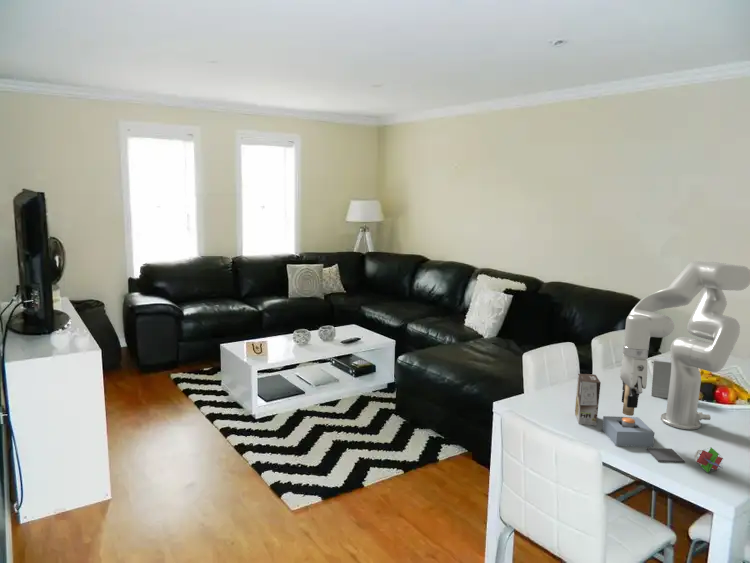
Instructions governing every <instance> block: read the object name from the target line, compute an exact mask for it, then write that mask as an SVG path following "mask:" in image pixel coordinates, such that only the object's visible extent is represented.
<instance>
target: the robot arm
mask: <svg viewBox="0 0 750 563" xmlns="http://www.w3.org/2000/svg"><path fill="white" fill-rule="evenodd" d="M749 286H750V268H748V267H747V266H745V265H738V264H731V263H724V262H714V261H701V260H699V261H697V260H695V261H691V262H689V263H688V264H687V265H686V266H685V267H684V268H683V269H682V270H681V271H680V273H679V274H678V275H677V276H676V277H675V278H674V280H672V281H671V282H670V284H669V285H668V287H666V288H663V289H660V290H658V291H655V292H653V293H650V294H648V295H646V296H645V297H643V298H642V299H640V300H639V301H638V302H637V303H636V304H635V306H634V307H633V308H632V309H631V311H630V312H629V314H628V316H627V317H626V319H625V328H624V329H625V330H624V336H623V337H624V338H623V346H622V354H621V355H622V360H621V364H620V374H619V375H620V376H619V377H620V380H621V381H622V394H621V403H623V404H624V395H625V386H626V384H627V385H628V386H629V387H630V391H629V395H628V400H627V407H628V408H634V409H636V408H638V405H639V404H638V403H639V397H640V395H641V394H643V390H644V389H646V388H647V384H648V356H649V348H650V340H651V338H665V337H668V336H670V335H671V334H672V333H673V331H674V329H675V324H674V320H673V319H672V318H670V317H669V316H667V315H665V314H661V313H657V312H658V311H660V310H664V309H671V308H673V309H674V308H679V307H685V306H688V305H689V304H691V303H692V301H693V300H694V299H695V298H696V297H697V296H698V294H699V293H700V296H699V298H698V299H699V300H698V301H697V304H696V306H695V308H694V310H693V311H692V314H691V316H690V318H689V320H688V322H687V327H686V328H687V331H688V333H689V334H690V335H692V336H695V337H696V338H693V337H689V336H679V337H676V338H675V339H673V341H672V342H671V344H670V350H669V352H670V353H669V354H670V358H671V376H670V385H669V393H668V399H667V404H666V411H665V412H664V413H662V414H661V415H660V420H661V421H662V422H663V423H664V424H666V425H668V426H671V427H673V428H677V429H682V430H689V431H690V430H692V431H693V430H697V429H699V428H701V425H702V424H701V421H702V420H704V421H710V420H711V418H712V417H711V414H709V413H708V414H706V413H705V414H704V413H703V412H700V411H699V412H698V407H699V399H700V390H701V383H702V376H701V371H700V370H703V371H707V372H709V373H710V372H711V373H718V372H721V370H723V368H724V367H725V365H726V364H727V362H728V360H729V358H730V355H731V353H732V352H733V350H734V348H735V345H736V344H737V342H738V339H739V336H740V333H741V326H740V322H739V321H738V320H737V319H736V318H734V317H732V316H729V315H723V314H724V312H725V310H726V307H727V305H728V301H727V298H726V296H725V295H726V294H724V291H744V290H746V289H747V288H749ZM697 337H698V338H700V339H698V338H697ZM701 339H703V340H701ZM704 339H705V340H708V341H712V342H708V341H705V340H704ZM699 369H700V370H699ZM634 385H635V386H636V387H634ZM633 389H636V390H634V391H633Z"/></svg>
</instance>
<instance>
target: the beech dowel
mask: <svg viewBox="0 0 750 563" xmlns="http://www.w3.org/2000/svg"><path fill="white" fill-rule="evenodd" d="M634 387H636V386H635V385H634ZM634 390H636V389H633V391H634ZM629 391H630V387H629V386H628V385H627V384H626V386H625V395H624V403H623V404H622V405H623V406H622V414H623V415H625V416H628V417H634V415H635V414H634V413H635V408H628V407H627V400H628V395H629Z"/></svg>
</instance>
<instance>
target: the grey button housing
mask: <svg viewBox="0 0 750 563" xmlns="http://www.w3.org/2000/svg"><path fill="white" fill-rule="evenodd" d="M624 417H625V416H609V415H608V416H606V415H603V417H602V426H601V427H602V429H601V431H602V432H604V434H605V435H606V436H607V437H608V438H609V440H610V441H611V442H612V443H613V444H614V446H616V447H641V448H643V447H645V448H654V442H655V431H654V430H653V429H652V428H650V427H649V426H648V425H647V424H646V423H645V422H644V421H643V420H642V419H641V418H640V417H638V416H627V417H628V418H632V419H634V420H635V427H634V428H626V427H622V425H621V424H622V418H624Z"/></svg>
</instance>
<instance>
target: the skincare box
mask: <svg viewBox="0 0 750 563" xmlns="http://www.w3.org/2000/svg"><path fill="white" fill-rule="evenodd" d="M670 376H671V357H664V356H658V355H656V356H654V359H653V368H652V382H651V383H652V384H651V395H650V396H651V397H655V398H656V397H657V398H661V399H662V398H663V399H667V400H668V393H669V385H670Z"/></svg>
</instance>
